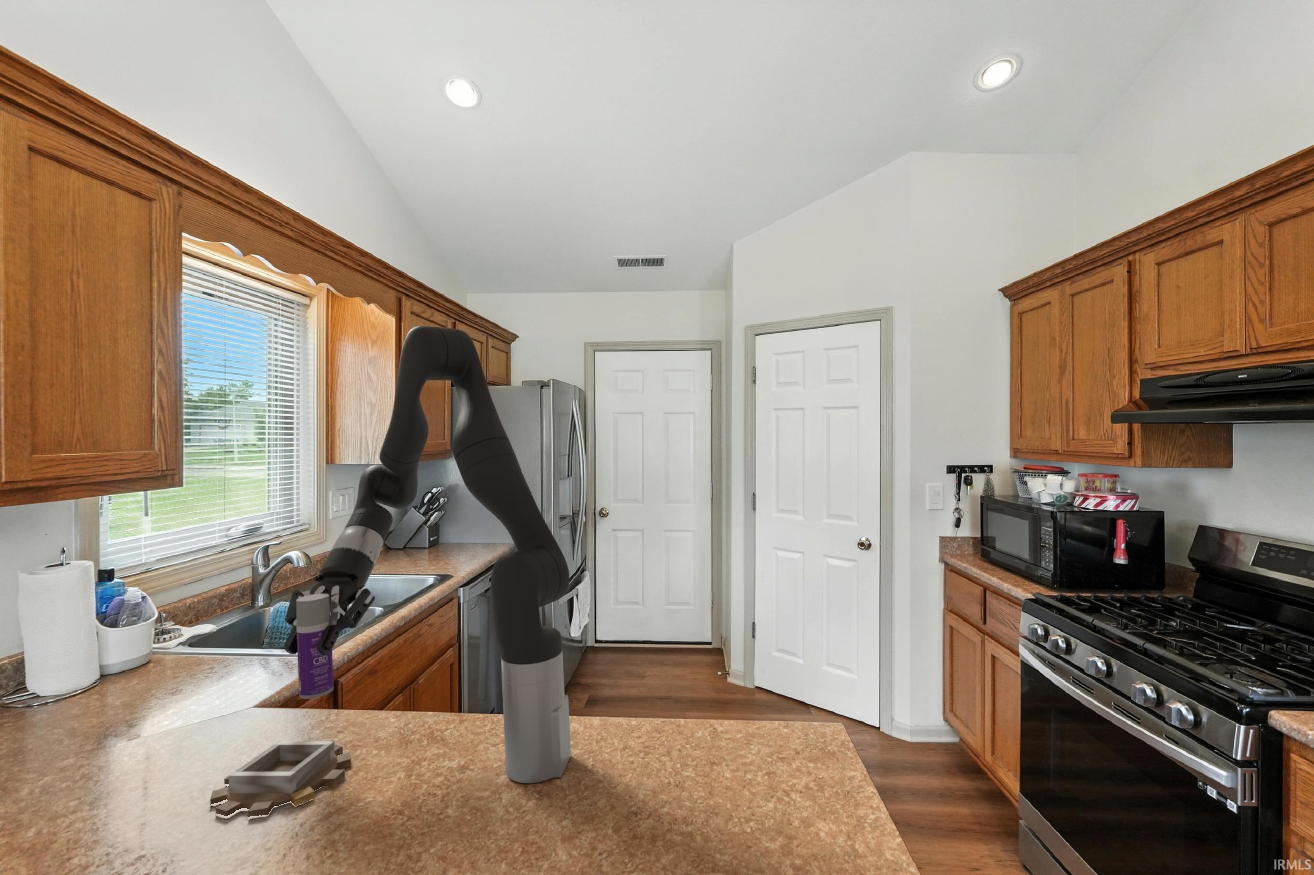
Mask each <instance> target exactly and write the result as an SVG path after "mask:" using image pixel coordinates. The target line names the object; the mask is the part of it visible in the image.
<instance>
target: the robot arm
mask: <svg viewBox="0 0 1314 875" xmlns="http://www.w3.org/2000/svg"><path fill="white" fill-rule="evenodd" d="M397 371H398V372H397V377H396V382H395V383H396V385H395V391H394V400H393V408H392V412H391V417H390V422H389V425H388V429H387V431H386V433H385V437H384V439H383V442H382V446H381V448H380V452H379V456H378V457H379V462H380V463H381V464H382V465H381V464H374V465H370V466H368V467H367V468H365V469H364V471H363V472H362V474H361V476H360V479H359V481H358V482H359V483H358V488H357V489H358V490H357V498H356V502H355V504H354V505H355V506H354V508H353V511H352V513H351V515H350V517H349V519H348V522H347V523H346V525H345V527H344V529H343V530H342V532H341V533H340V535H338V537H337V539H336V541H335V542H334V544H333V545H332V548H331V549H330V551H329V553H328V555H327V557H326V559H325V561H324V563H323V564H322V565H321V568H320V569H319V572H318V577H317V578H318V579H317V582H316V583H315V584H314V585H313V586H312V587H311V588H310V589H308V590H305V591H301V590H300V589H295V590H294V591H293V592H292V594H291V596H290V597H291V598H290V600H289V603H288V607H287V611H286V614H285V618H284V621H285V623H286V624H288V625H289V626H290V627H291V628H292V629H291V631H290V633H289V635H288V636H287V639H286V640H285V642H284V645H283V647H284V651H286V652H287V653H288V654H289V655H296V654H298V653H297V613H296V600H297V599H298V598H300V597H304V596H308V595H313V594H329V601H330V626H327V627H326V629H325V631H324V633H323V635H322V637H321V639H320V641H319V643H318V645H317V650H318V651H319V652H320V653H321V654H328V652H329V650H331V649H332V650H333V648H334V646H335V644H336V643H337V640H338V638H339V636H340V634H341V633H342V632H343V631H344V630H345V629H354V628H356V626H357V625H358V624H359V622H360V621H361V619H362V618H363V616H364V615H365V614H366V612H367V611H368V610H369V608H370V607H371V606H372V604H373V603H374V602H375V600H376V596H375V595H374V594H373V592H372V591H371V590H370V589H369V588H367V587H366V588H364V587H365V586H366V585H367V582H368V580H369V578H370V576H371V573H372V571H373V569H374V567H375V565H376V564H377V560H378V558H379V556H380V553H381V551H382V547H383V544H384V542H385V540H386V538H387V535H388V534H389V531H390V529H391V527H392V524H393V520H394V518H393V514H392V513H391V511H389V510H388V509H387V508H385V507H384V506H386V507H388V508H389V507H390V508H393V509H396V510H404V509H407V508H408V507H410V506H411V505H412V504H413V503H414V501H415V499H416V497H417V494H418V484H419V482H418V472H419V471H418V470H419V469H418V468H419V463H420V459H421V457H422V455H423V452H424V449H425V447H426V444H427V441H428V438H429V437H428V436H429V425H428V421H427V417H426V415H425V414H426V413H425V412H424V409H423V407H422V402H421V392H422V391H423V387H424V386H425V384H426V382H427V381H449V382H451V383H452V385H453V386H454V388H455V391H456V393H457V397H458V400H459V405H460V409H459V415H458V419H457V422H456V426H455V429H454V433H453V439H452V446H451V447H452V450H451V451H452V455H453V458H454V460H455V464H456V466H457V468H458V471H459V474H460V476H461V479H462V481H463V483H464V485H465V487H466V489H467V490H468V491H469V493H470V494H471V495H472V496H473V498H474V499H475V500H476V501H478V502H479V503H480V504H481V505H482V506H483V507H485V509H486V510H488V511H489V512H490V513H491V514H492V515H493V516H494V517H495V518H497V520H499V521H500V523H501V524H502V525H503V526H504V528H505V530H507V532H508V534H509V536H510V537H511V539H512V542H513V543H514V546H515V549H516V551H511V552H508V553H506V554H503V555H501V556H499V558H498V559H496V561H495V563H494V565H493V568H492V570H491V578H490V594H491V604H492V614H493V626H494V632H495V633H494V634H495V638H496V640H497V644H498V646H499V649H500V662H501V664H500V665H501V683H502V684H501V685H502V686H501V689H502V706H503V708H502V710H503V711H502V712H503V730H504V732H503V734H504V754H505V756H504V758H505V759H504V761H505V762H504V763H505V772H506V776H507V778H509V779H510V780H512V781H514V782H517V783H519V784H520V783H521V784H534V783H541V782H545V781H548V780H551V779H554V778H561V777H563V774H564V772H565V770H566V768H567V765H568V764H569V763H568V762H569V761H570V758H571V757H572V752H571V748H572V747H571V730H570V729H571V727H570V708H569V707H570V706H569V705H570V704H569V696H568V695H567V694H565V681H564V680H565V679H564V677H565V676H564V658H563V638H562V634H561V632H560V631H559V630H558V629H557V628H555V627H553V626H551V627H550V626H546V625H543V624H542V621H541V613H540V608H542V607H544V606H547V605H549V604H552V603H554V602H557V601H559V600H561V599H562V598H563V597H564V596H565V595H566V594H567V592H568V589H569V587H570V580H571V579H570V578H571V576H570V570H569V566H568V563H567V560H566V557H565V555H564V554H563V552H562V549H561V547H560V545H559V544H558V542H557V541H556V540H557V539H556V538H555V536H554V535H553V533H552V531H551V530H550V527H549V526H548V523H546V520H545V519H544V516H543V515H542V512H541V511H540V509H539V507H538V505H537V502H536V500H535V498H534V495H533V493H532V491H531V489H530V487H529V484H528V483H527V480H526V478H525V476H524V473H523V471H522V468H521V466H520V463H519V460H518V457H517V455H516V452H515V450H514V448H513V446H512V443H511V441H510V439H509V436H508V435H507V432H506V430H505V428H504V426H503V423H502V421H501V419H500V415H499V414H498V410H497V408H496V405H495V403H494V400H493V398H492V395H491V392H490V389H489V386H488V382H487V380H486V376H485V373H484V370H483V367H482V363H481V359H480V356H479V353H478V349H477V348H476V345H475V343H474V341H473V340H472V338H471V337H470V335H469V334H468V333H467V332H466V331H464V330H462V329H459V328H458V329H457V328H452V327H443V326H442V327H441V326H432V325H417V326H414V327H412V328H411V329H410V330H409V331H408V333H407V334H406V336H405V339H404V341H403V344H402V347H401V352H400V357H399V364H398V370H397ZM382 505H384V506H382Z"/></svg>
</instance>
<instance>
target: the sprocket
mask: <svg viewBox="0 0 1314 875" xmlns="http://www.w3.org/2000/svg"><path fill="white" fill-rule="evenodd" d="M343 747H344V746H343V745H339V744H335V741H334V740H332V741H331V740H328V741H327V740H324V741H323V740H320V741H319V740H315V741H314V740H313V741H310V740H309V741H307V740H306V741H304V740H303V741H301V740H300V741H298V740H297V741H295V740H293V741H292V740H290V741H285V740H284V741H283V740H282V741H276V743H274V744H273V745H271V746H269V747H268V748H267V749H266V750H264V751H262V752H261V753H259V754H258V755H257V756H255V757H254V758H252V759H250V760H249V761H248V762H246V763H245V764H244V765H242V766H241V767H239V768H238V769H236V770H235V771H233V772H232V773H230V774H229V775H228V776H226V777H225V778H223V780H224V781H223V784H229V786H228V787H221V788H218V789H215V790H212V793H211V795H210V797H209V799H210V800H209V802H210V803H209V805H211V804H214V803H218V802H221V801H223V800H226V799H227V800H228V801H227V802H225V803H223V804H221V805H218V806H215V814H216V813H217V814H221V815H224V816H228V815H230V814H232V813H234V812H235V811H236V810H239V809H241V808H247V809H249V810H248V812H247V818H248V817H250V816H259V815H261V816H262V815H268V814H269V812H270V811H271V809H272V808H273V807H274V806H279V805H281V804H284V803H287V802H290V801H291V802H292V803H293V804H294V805H295V806H297V805H299V804H302V803H305V802H307V801H309V800H311V799H314V800H315V792H316V791H315V790H317V789H319V788H320V787H322V786H326V787H325V788H335V787H336V786H338V785H339V784H340V783H341V782H342V781H343V780H344V779H345V778H346V772H345V771H346V770H345V769H347V768H346V767H348V768H350V767H349V766H351V767H352V759H351V758H352V755H351V751H350V752H346V753H344V750H343ZM342 753H343V754H342ZM340 754H341V755H340ZM338 755H339V756H338ZM343 768H344V769H343ZM340 769H341V770H340ZM342 779H343V780H342ZM327 786H328V787H327ZM322 788H323V787H322ZM320 789H321V788H320ZM320 789H319V790H320ZM314 791H315V792H314ZM317 791H318V790H317Z"/></svg>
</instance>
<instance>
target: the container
mask: <svg viewBox="0 0 1314 875" xmlns="http://www.w3.org/2000/svg"><path fill="white" fill-rule="evenodd" d="M296 613H297V653H296V654H297V671H298V672H297V673H298V694H299V695H298V696H299V698H300V699H303V700H311V699H316V698H320V697H323V696H325V695H328V694H330V693H332V692H333V690H334V688H335V687H334V686H335V685H334V683H335V682H334V666H333V665H334V664H333V663H334V662H333V648H332V649H331V650H329V652H328V654H321V653H320V652H319V651H318V650H317V645H318V643H319V641H320V639H321V637H322V635H323V633H324V631H325V629H326V627H327V626H330V616H331V613H330V601H329V594H313V595H308V596H304V597H300V598H298V599H297V600H296Z"/></svg>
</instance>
